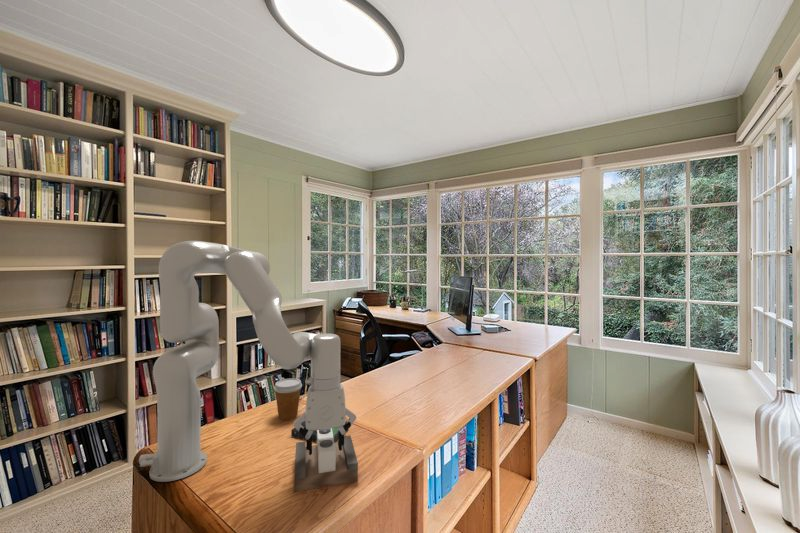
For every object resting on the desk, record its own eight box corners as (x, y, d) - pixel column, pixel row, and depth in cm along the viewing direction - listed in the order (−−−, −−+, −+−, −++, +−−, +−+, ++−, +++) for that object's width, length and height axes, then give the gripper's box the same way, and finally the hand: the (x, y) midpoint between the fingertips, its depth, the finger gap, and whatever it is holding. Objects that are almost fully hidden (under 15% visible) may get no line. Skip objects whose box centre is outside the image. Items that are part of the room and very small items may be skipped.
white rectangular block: (318, 473, 80) (318, 451, 80) (316, 443, 94) (316, 425, 94) (335, 470, 82) (335, 449, 82) (331, 441, 95) (331, 423, 95)
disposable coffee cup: (277, 411, 122) (277, 378, 122) (304, 410, 123) (304, 377, 123) (270, 423, 112) (270, 387, 112) (299, 422, 113) (299, 386, 113)
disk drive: (290, 439, 103) (332, 447, 99) (290, 430, 103) (332, 437, 99) (309, 424, 113) (348, 430, 108) (309, 416, 113) (348, 422, 108)
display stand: (294, 491, 78) (294, 472, 78) (296, 458, 92) (296, 442, 92) (357, 481, 82) (357, 462, 82) (350, 450, 96) (350, 435, 96)
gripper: (290, 390, 81) (289, 463, 81) (360, 383, 86) (360, 452, 86) (291, 380, 88) (291, 447, 88) (356, 374, 93) (356, 438, 93)
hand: (325, 449), depth 87 cm, fingers open, 7 cm apart
